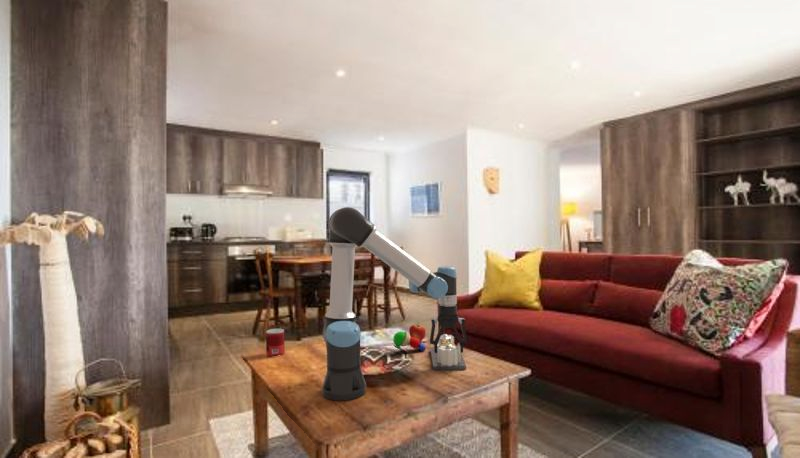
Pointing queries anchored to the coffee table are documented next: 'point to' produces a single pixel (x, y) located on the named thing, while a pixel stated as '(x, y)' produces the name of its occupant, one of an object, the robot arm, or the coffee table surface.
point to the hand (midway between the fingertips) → (448, 360)
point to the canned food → (275, 342)
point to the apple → (417, 331)
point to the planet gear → (449, 355)
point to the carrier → (448, 342)
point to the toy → (407, 341)
